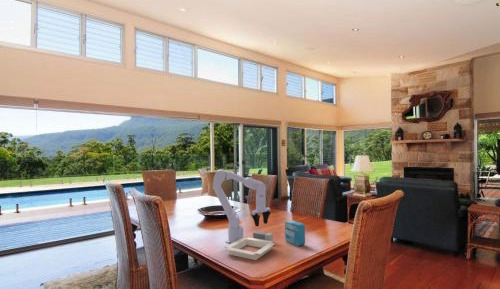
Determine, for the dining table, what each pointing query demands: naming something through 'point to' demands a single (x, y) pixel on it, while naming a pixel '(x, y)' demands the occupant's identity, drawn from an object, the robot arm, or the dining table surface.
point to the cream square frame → (263, 244)
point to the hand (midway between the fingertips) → (261, 224)
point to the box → (263, 236)
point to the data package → (295, 233)
